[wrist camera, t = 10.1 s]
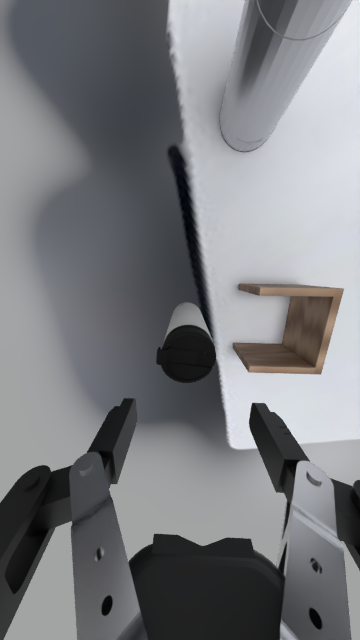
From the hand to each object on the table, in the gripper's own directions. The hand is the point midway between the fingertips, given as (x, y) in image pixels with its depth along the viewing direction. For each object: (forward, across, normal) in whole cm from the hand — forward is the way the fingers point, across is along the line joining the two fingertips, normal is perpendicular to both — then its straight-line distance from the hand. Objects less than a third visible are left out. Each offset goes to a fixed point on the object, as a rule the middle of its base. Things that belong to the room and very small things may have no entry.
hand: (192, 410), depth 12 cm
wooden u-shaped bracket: (+26, -16, 0) cm, 31 cm away
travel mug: (+26, 0, 0) cm, 26 cm away
